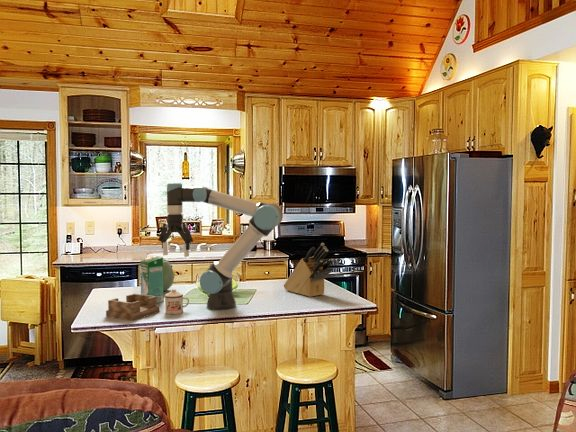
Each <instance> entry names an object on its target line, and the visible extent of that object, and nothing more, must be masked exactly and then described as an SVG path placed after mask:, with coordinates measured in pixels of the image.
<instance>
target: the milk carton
mask: <svg viewBox="0 0 576 432" xmlns="http://www.w3.org/2000/svg"><path fill="white" fill-rule="evenodd" d="M163 259H164V257H163V256H158V255H153V256H148V257H145V259H141V260H140V261H139V264H140V265H139V266H140V267H139V269H140V271H139V272H140V295H149V296H157V304H159V303H163V302H164V303H165V301H164V299H165V293H164V292H165V291H164V289H163Z"/></svg>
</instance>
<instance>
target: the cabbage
mask: <svg viewBox="0 0 576 432" xmlns="http://www.w3.org/2000/svg"><path fill="white" fill-rule="evenodd" d="M175 276H176V274H175V273H174V270H173V265H172V264H171V263H170V261H169V259H166V258H163V289H164V292H165V291H167V290H169V289H170V288H171V287H172V285H173V284H174V279H175Z"/></svg>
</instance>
